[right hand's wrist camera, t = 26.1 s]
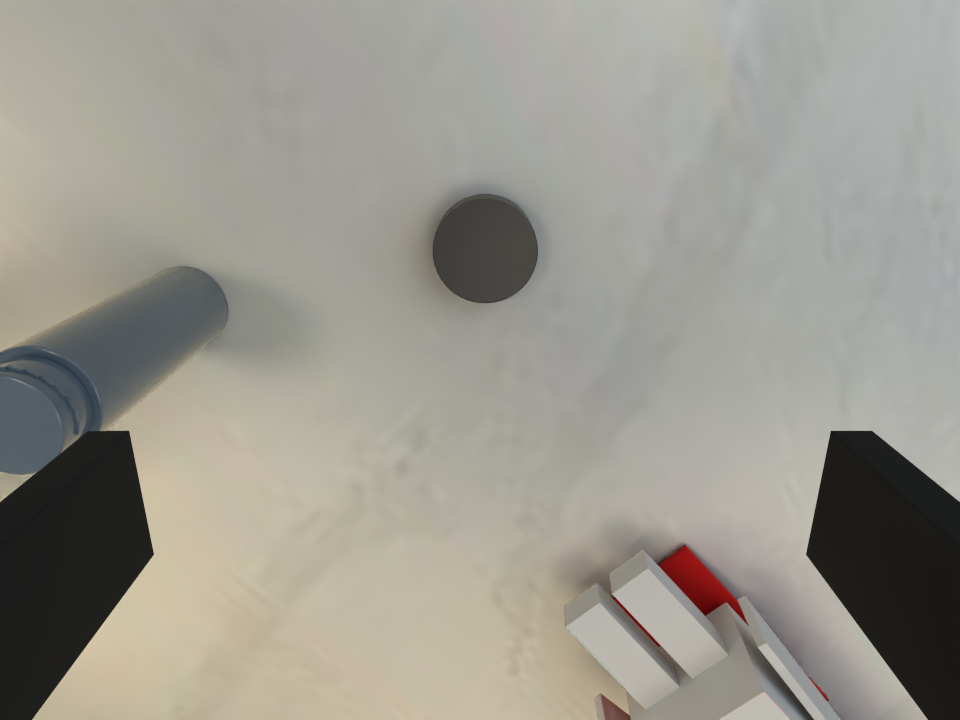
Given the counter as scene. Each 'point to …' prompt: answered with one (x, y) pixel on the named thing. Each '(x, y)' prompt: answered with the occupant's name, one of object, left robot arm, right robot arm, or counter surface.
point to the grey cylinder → (101, 364)
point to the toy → (689, 647)
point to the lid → (485, 249)
